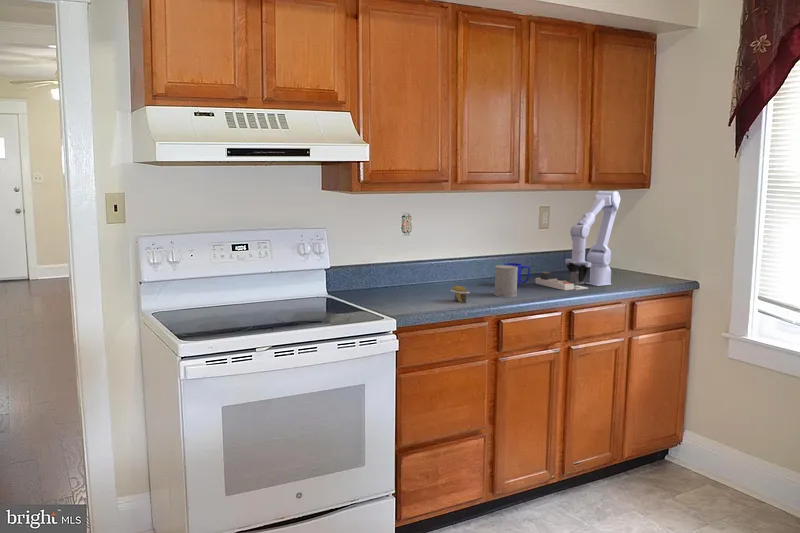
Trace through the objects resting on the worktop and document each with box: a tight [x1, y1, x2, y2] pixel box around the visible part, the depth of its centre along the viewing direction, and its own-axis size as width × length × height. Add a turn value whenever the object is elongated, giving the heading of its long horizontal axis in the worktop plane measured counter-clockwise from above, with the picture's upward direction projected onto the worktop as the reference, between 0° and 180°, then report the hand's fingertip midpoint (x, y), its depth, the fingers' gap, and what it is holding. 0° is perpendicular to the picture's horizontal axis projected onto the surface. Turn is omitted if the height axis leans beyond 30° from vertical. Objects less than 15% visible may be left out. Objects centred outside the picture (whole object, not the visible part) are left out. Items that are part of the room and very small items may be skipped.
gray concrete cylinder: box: [494, 264, 518, 298], centre depth 290 cm, size 10×10×12 cm
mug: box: [503, 262, 531, 287], centre depth 314 cm, size 8×12×10 cm
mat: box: [573, 284, 589, 291], centre depth 310 cm, size 7×7×1 cm
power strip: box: [535, 271, 575, 291], centre depth 314 cm, size 6×20×6 cm, turn 29°
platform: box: [450, 285, 470, 304], centre depth 276 cm, size 12×18×7 cm, turn 30°
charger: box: [569, 270, 585, 285], centre depth 309 cm, size 4×5×5 cm
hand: (577, 280), depth 310 cm, fingers closed on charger, 4 cm apart
